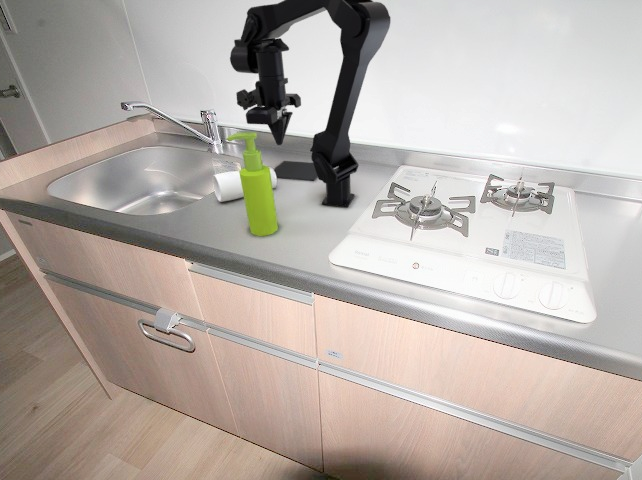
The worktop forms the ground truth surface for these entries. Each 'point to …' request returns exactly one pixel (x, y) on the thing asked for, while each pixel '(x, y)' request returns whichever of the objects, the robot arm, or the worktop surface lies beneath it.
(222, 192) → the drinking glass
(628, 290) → the worktop surface
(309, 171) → the drying mat
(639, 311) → the worktop surface
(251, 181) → the soap dispenser
